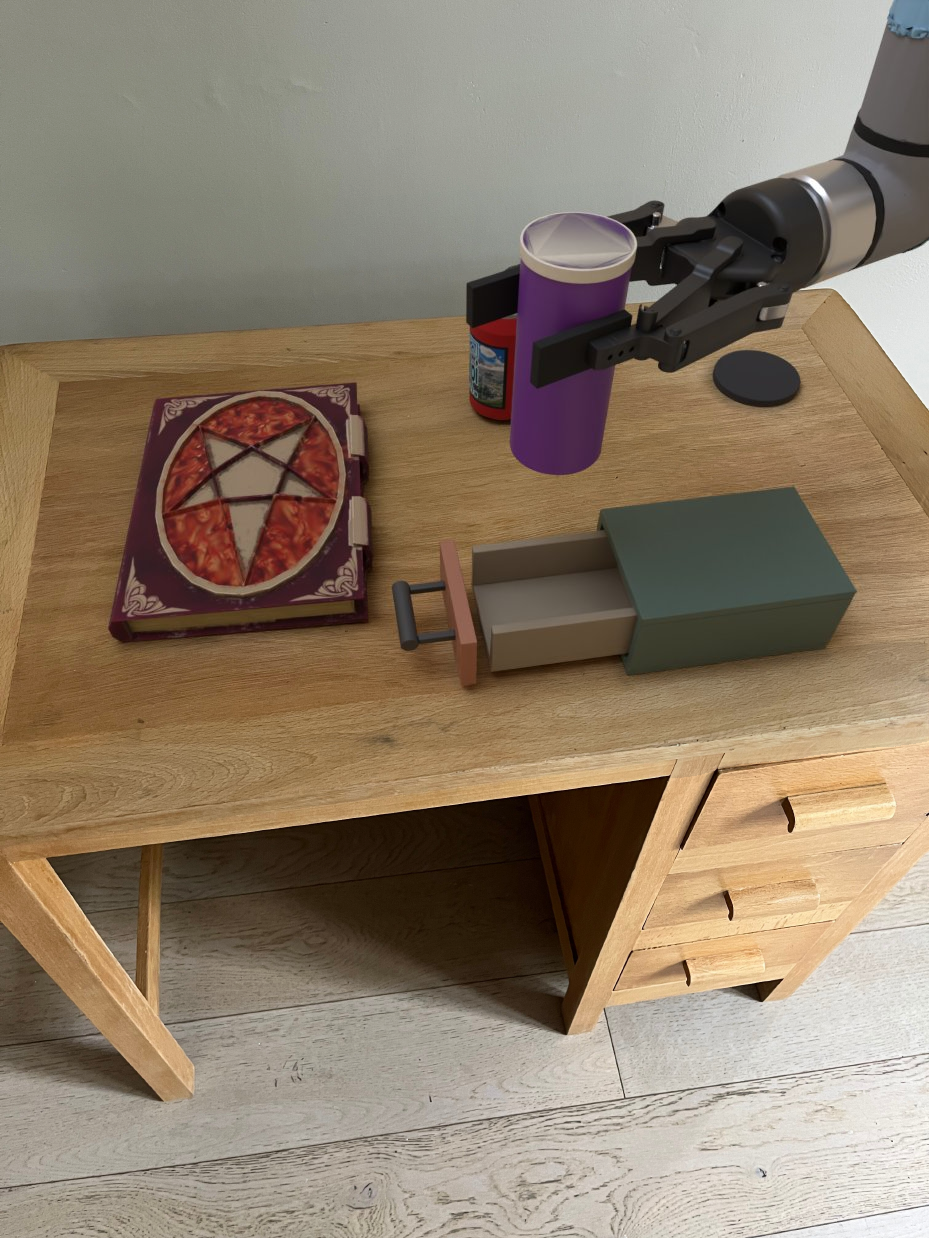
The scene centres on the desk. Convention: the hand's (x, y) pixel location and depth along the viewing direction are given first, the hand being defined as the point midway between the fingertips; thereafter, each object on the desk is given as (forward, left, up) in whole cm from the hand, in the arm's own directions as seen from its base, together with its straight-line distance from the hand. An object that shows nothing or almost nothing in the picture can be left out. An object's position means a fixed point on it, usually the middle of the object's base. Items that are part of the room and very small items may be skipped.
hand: (501, 334), depth 51 cm
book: (+24, +2, -26) cm, 36 cm away
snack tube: (-2, -5, -10) cm, 12 cm away
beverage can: (+14, -24, -26) cm, 38 cm away
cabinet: (-14, -11, -26) cm, 32 cm away
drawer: (-3, 0, -25) cm, 25 cm away
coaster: (-6, -43, -26) cm, 50 cm away
